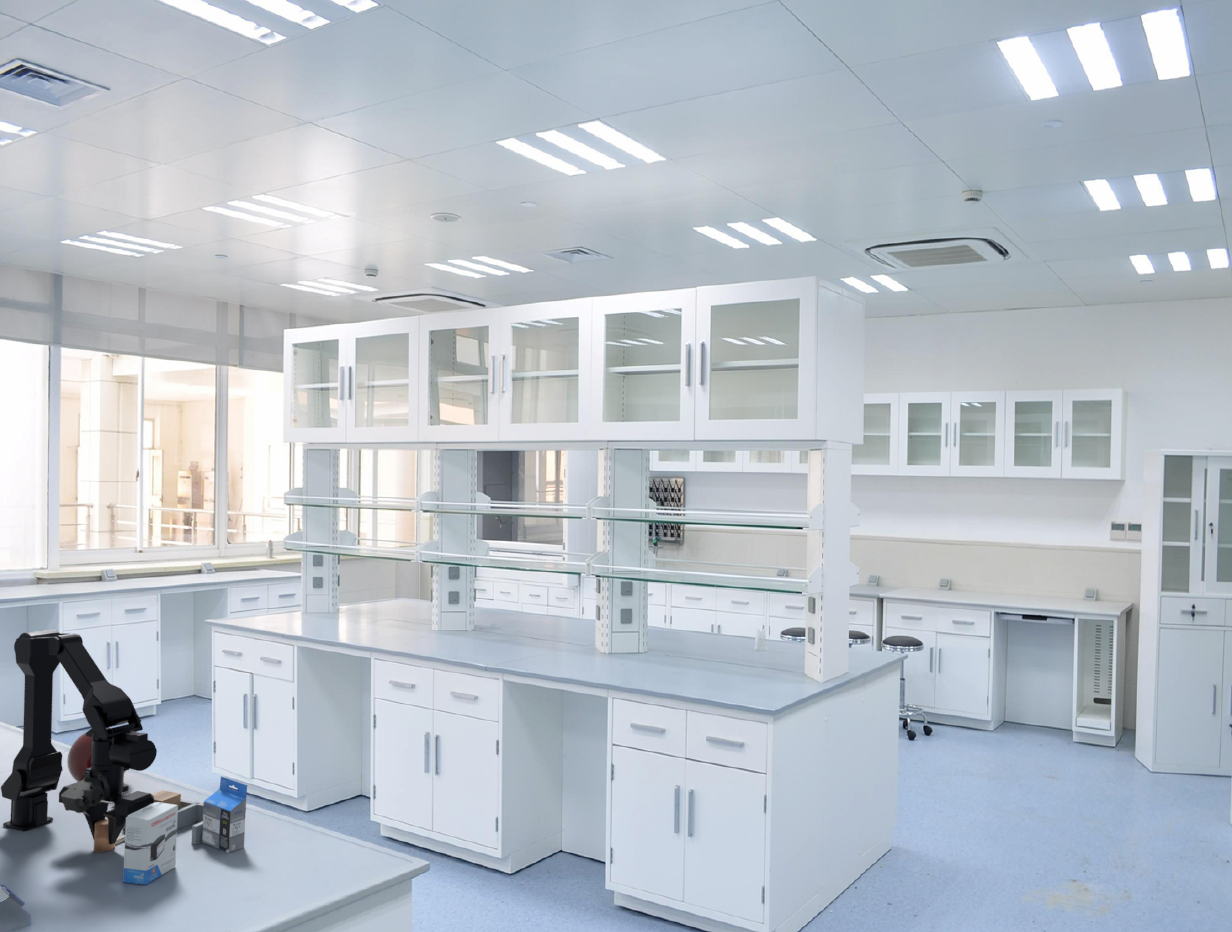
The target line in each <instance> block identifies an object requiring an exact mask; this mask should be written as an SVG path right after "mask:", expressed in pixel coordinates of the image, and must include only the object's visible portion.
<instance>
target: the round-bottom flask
mask: <svg viewBox="0 0 1232 932" xmlns="http://www.w3.org/2000/svg"><path fill="white" fill-rule="evenodd" d="M88 731H89V730H87V731H86V732H84V733H82V734H81V735H80V736H78V737H77V739H75V741H74V742H73V743H72V744H71V746H70V748H69V751H68V754H67V759H66V763H67V769H68V771H69V773H70V775H71V777H72V778H73V779H74V780H75V781H76V782H79V781H81V780H83V779H84V773H85V771H86V769H88V768H91V758H92V737H88V736H86V733H87V732H88ZM126 771H127V770H126ZM126 771H124V774H125V773H126Z"/></svg>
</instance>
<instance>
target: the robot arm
mask: <svg viewBox="0 0 1232 932" xmlns="http://www.w3.org/2000/svg"><path fill="white" fill-rule="evenodd" d="M83 642H84V640H83V638H82V636H81V635H80V634H78V633H70V632H69V633H67V632H65V633H64V632H63V633H60V631H59V630H57V629H55V628H51V629H45V630H36V631H35V630H34V631H29V632H27V631H26V632H22V633H21V634H20V635H19V636H18V637H17V638H16V639H15V641H14V645H13V650H14V653H15V664H16V665H17V666H18V667H19V669H20V670H21V672H22V673H23V675H24V691H23V692H24V693H23V694H24V695H23V696H24V698H23V731H22V732H23V735H22V736H23V737H22V739H23V740H22V747H21V748H20V749H19V751H18V753H17V754H16V756H15V757H14V759H13V761H12V762H13V763H12V771H11V773H10V775H9V776H8V777H7V778H6V780H5V781H4V782H3V783H2V784H1V786H0V791H1V796H2V798H4V799H8V800H9V801H11V803H10V820H9V821H6V822H3V824H2V826H3V827H8V828H11V829H16V830H20V831H21V830H22V831H28V830H30V829H33V828H36V827H38V826H41V825H42V826H43V825H44V824H47V823H50V822H53V820H54V817H51V816H48V814H49V813H48V809H49V808H48V806H49V801H48V792H50V791H56V790H57V788H58V785H59V781H60V777H61V774H62V772H63V770H64V769H63V766H62V765H63V763H62V762H63V753H62V751H58V750H57V748H55V746H54V745H53V744H52V734H53V732H52V729H53V728H52V724H53V693H54V691H53V690H54V689H53V687H54V685H53V683H54V681H53V680H54V678H53V677H54V673H55V671H56V670H57V668H58V667H59V665H61V666H62V668H63V670H65V672H66V674H67V675H68V677H69V678H70V680H71V681H72V682H73V685H74V686H75V687H76V689H77V691H78V692H79V694H80V695H81V697H82V699H83V703H82V712H83V715H84V717H85V719H86V721H87V723H88V724H89V726H90V727H91V728H90V729H89V730H87V731H88V732H87V731H86V732H87V733H86V736H88V737H92V758H91V768H88V769H86V771H85V773H84V779H83V780H81V781H79V782H77V781H76V782H74V783H71V784H68V785H64V786H63V787H62V788H61V790H60V791H59V792H58V803H60V804H63V807H64V809H65V811H68V812H69V811H71V812H72V811H73V812H75V813H77V814H83V816H84V817H85V819H86V822H87V824H88V827H89V831H90V833H91V836H92V840H94V833H95V823H96V822H97V821H100V820H105V819H108V837H109V844H114V843H115V842H116V840H117V838H118V837H120V835H121V833H122V831H123V830H124V829H123V827H124V825H125V823H126V817H128V815H130V814H132V813H134V812H136V811H138V810H140V809H142V808H144V807H146V806H148V805H150V804H153V803H154V796H153V795H152V794H153V793H150V792H145V791H140V790H135V791H133V792H131V793H128V794H123V793H125V792H127V791H129V784H124V783H125V782H124V781H125V780H124V779H125V773H124V771H129V770H130V769H131V770H133V771H136V772H142V771H146V770H147V769H148V768H150V767H151V766H152V765H153V764H154V761H155V759H156V757H157V752H158V751H157V747H156V745H155V743H154V742H153V741H152V740H149V734H148V733H147V732H141V731H143V725H142V723H141V722H142V720H141V718H140V716H139V714H138V713H137V711H136V709H135V706H134V704H133V701H132V699H131V698H130V697H129V696H128V694H127V693H126V692H125V691H124V690H123V689H122V688H121V687H118V686H116V685H115V684H112V683H110V682H109V681H108V680H107V679H106V677H105V676H104V674H103V673H102V671H101V670H100V667H98V665H97V663H96V662H95V660H94V659H93V658H92V656H91V654H90V653H89V651H88V650H87V649H86V647H85V645H84V643H83ZM126 723H127V724H126ZM115 726H116V727H115ZM109 805H111V809H110V810H108V807H109Z"/></svg>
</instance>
